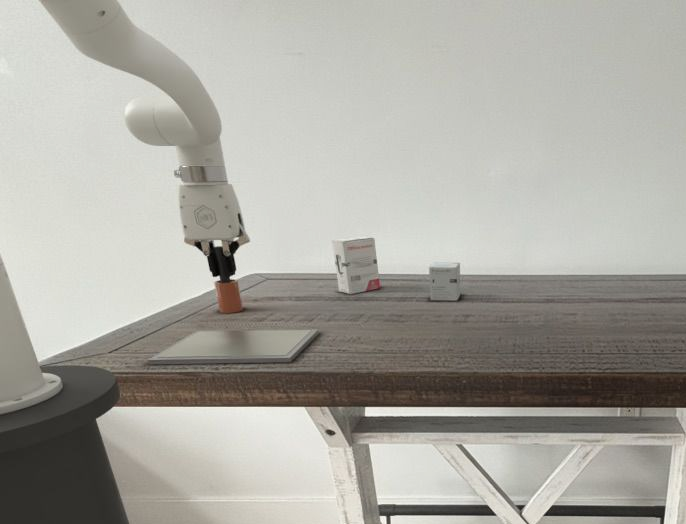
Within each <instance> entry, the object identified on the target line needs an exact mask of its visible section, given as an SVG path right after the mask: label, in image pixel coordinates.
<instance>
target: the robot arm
mask: <svg viewBox="0 0 686 524" xmlns="http://www.w3.org/2000/svg"><path fill="white" fill-rule="evenodd" d="M38 1H39V2H40V4H41V5H42V6H43V8H44V9H45V10H46V12H47V13H48V14H49V15H50V17H51V18H52V19H53V20H54V22H55V23H56V24H57V25H58V26H59V29H61V31H62V32H63V33H64V34H65V36H66V37H67V38H68V39H69V41H70V42H71V44H72V45H73V46H74V47H75V49H77V50H78V52H80V53H81V54H83V55H84V56H86V57H87V58H90V59H92V60H93V61H96V62H99V63H101V64H103V65H106V66H108V67H110V68H113V69H116V70H119V71H121V72H124V73H128V74H129V75H132V76H135V77H138V78H141V79H142V80H145V81H146V82H148V83H150V84H151V85H153V86H155V87H156V88H158V89H159V90H161V91H163V92H164V93H165V95H160V96H159V95H158V96H151V95H149V96H139V97H136V98H134V99H132V100H130V101H129V102H128V103H127V104H126V106H125V108H124V112H123V118H124V123H125V126H126V128H127V130H128V131H129V132H130V134H131V135H132V136H133V137H134V138H136V139H137V140H138V141H140V142H141V143H144V144H146V145H149V146H155V147H175V151H176V155H177V161H178V165H179V166H178V169H174V171H173V176H174V177H175V178H176V179H177V178H178V179H179V178H180V179H181V182H182V184H178V207H179V208H178V209H179V217H180V224H181V229H182V234H183V236H184V240H183V241H184V244H186V245H189V246H192V247H195V248H196V249H198V250H199V251H200V252H201V253H202V254H203V256H204V257H206V259H207V264H208V269H209V272H210V273H211V276H212V278H217V277H219V272H218V267H217V262H216V257H215V252H214V247H216V245H215V241H221V242H220V243H221V246H222V247H223V254H224V256H222V263H223V268H224V273H225V276H226V277H230V278H231V277H232V276H235V275H236V272H237V266H236V260H235V254H236V253H237V251H238V249H239V248H240V247H242V246H244V245H246V244H248V243H250V242H251V239H250V236H249V235H248V233H247V232H246V228H245V221H244V217H243V213H242V210H241V206H240V202H239V200H238V196H237V194H236V191H235V189H234V187H233V184H231V183H229V179H228V174H227V169H226V164H225V158H224V152H223V147H222V142H221V136H222V135H221V134H222V130H223V128H222V127H223V126H222V125H223V124H222V120H221V117H220V113H219V110H218V108H217V107H216V104H215V102H214V101H213V99H212V97H211V95H210V94H209V92H208V91H207V88H206V87H205V85H204V84H203V81H201V79H200V78H199V76H198V74H197V73H196V72H195V71H194V69H192V68H191V66H190V65H189V64H187V62H185V60H184V59H182V58H181V57H180V56H179V55H177V54H176V53H175V52H173V51H172V50H170V49H169V47H167V46H166V45H164V44H163V43H162V42H160V41H159V40H157V39H156V38H154V37H153V36H152V35H150V34H148V33H147V32H146V31H144V30H142V29H141V28H139V27H138V26H137V25H135V23H134V22H133V21H132V20H131V19H130V18H129V16H128V15H127V13H126V11H125V10H124V8H123V7H122V5H121V3H120V2H119V1H118V0H38ZM236 238H237V239H236ZM19 306H20V305H19V303H18V300H17V296H16V295H15V291H14V288H13V286H12V283H11V280H10V277H9V274H8V271H7V268H6V266H5V262H4V260H3V258H2V255H1V254H0V415H3V414H7V413H11V412H15V411H18V410H21V409H25V408H28V407H31V406H33V405H36V404H39V403H41V402H43V401H46V400H48V399H50V398H51V397H53V396H55V395H56V394H58V393H59V392H60V391H61V389H62V388H63V384H62V381H61V379H60V377H58V376H56V375H53V374H49V373H42V371H41V369H40V367H41V366H40V363H39V360H38V357H37V355H36V351H35V349H34V345H33V343H32V340H31V338H30V335H29V332H28V329H27V326H26V323H25V320H24V318H23V314H22V311H21V309H20V307H19Z"/></svg>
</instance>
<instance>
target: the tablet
mask: <svg viewBox="0 0 686 524" xmlns="http://www.w3.org/2000/svg"><path fill="white" fill-rule="evenodd" d="M319 334H320V332H319V329H316V328H315V329H264V330H263V329H260V330H258V329H257V330H256V329H254V330H253V329H249V330H246V329H245V330H196V331H195V332H193V333H191V334H189V335H187V336H186V337H184V338H183V339H181V340H179V341H178V342H175V343H174V344H172V345H170V346H169V347H167V348H165V349H164V350H162V351H160V352H158V353H157V354H155V355H154V356H152V357H150V358H149V359H147V361H148V365H202V364H203V365H205V364H207V365H208V364H209V365H211V364H261V363H262V364H267V363H268V364H269V363H270V364H275V363H292V362H293V361H294V360H295V359H296V358H297V357H298V355H300V354H301V353H302V352H303V351H304V349H305V348H307V347H308V346H309V345H310V343H311V342H312V341H313V340H314V339H316V337H317V336H318V335H319Z"/></svg>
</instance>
